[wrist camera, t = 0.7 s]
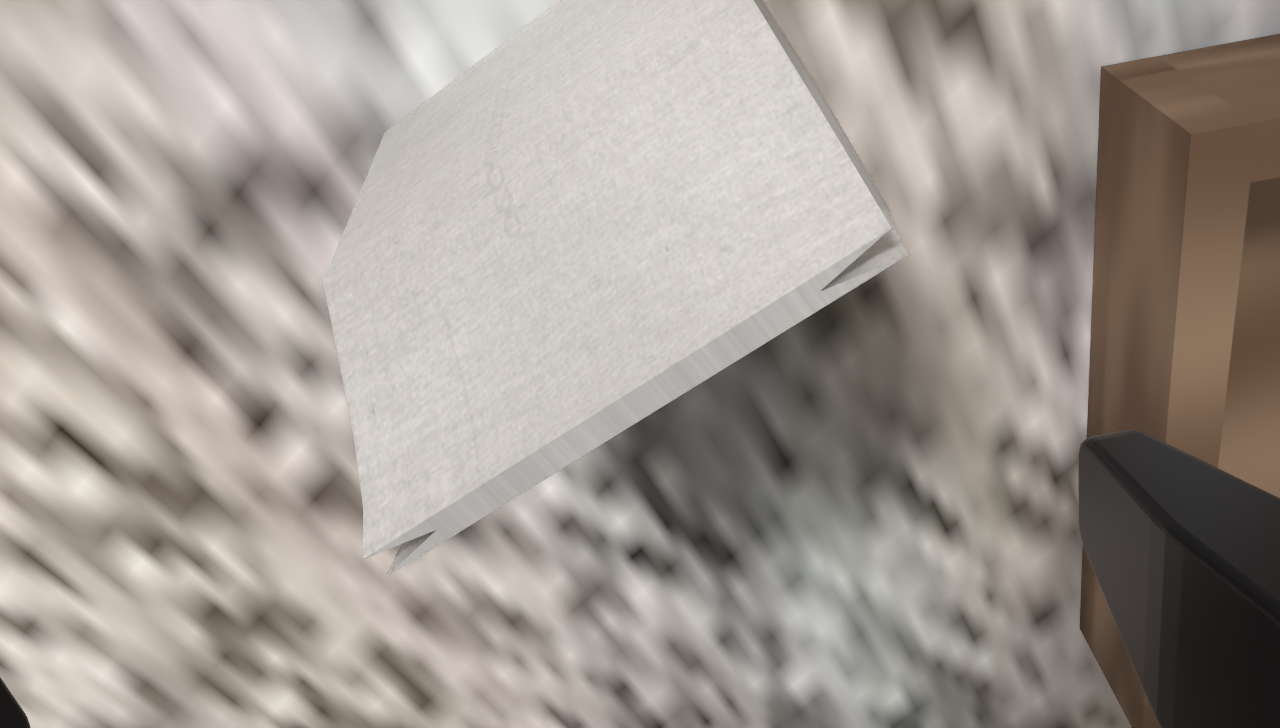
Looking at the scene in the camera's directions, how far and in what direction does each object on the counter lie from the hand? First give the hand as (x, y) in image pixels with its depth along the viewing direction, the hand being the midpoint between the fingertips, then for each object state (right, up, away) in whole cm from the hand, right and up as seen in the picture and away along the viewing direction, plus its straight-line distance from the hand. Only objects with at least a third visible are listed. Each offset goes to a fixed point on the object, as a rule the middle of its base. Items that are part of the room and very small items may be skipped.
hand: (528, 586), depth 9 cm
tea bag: (0, +7, +11) cm, 13 cm away
